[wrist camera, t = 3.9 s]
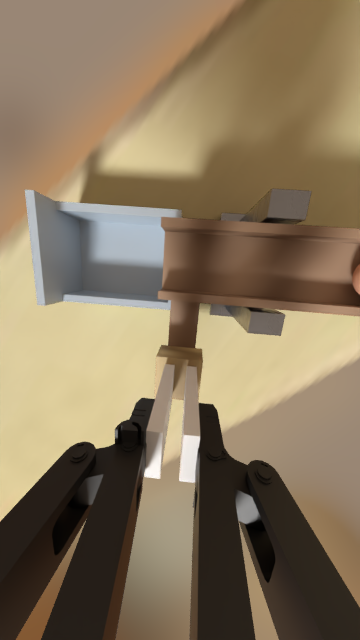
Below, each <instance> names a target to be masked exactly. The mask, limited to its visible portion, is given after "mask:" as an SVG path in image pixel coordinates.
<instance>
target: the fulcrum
mask: <svg viewBox="0 0 360 640" xmlns="http://www.w3.org/2000/svg"><path fill="white" fill-rule="evenodd" d="M310 196H311V191H301V190H285V189H271V190H270V191H269V192H268V193H267V194H266V195H265V196H264V197H263V198H262V199H261V200H260V201H259V202H258V203H257V204H256V205H255V206H254V207H253V208H252V209H251V210H250V211H249V212H248V213H247V214H233V213H221V219H220V220H224V221H240V222H257V223H273V224H290V225H294V224H296V223H299V222H301V221H303V220H305V219H306V215H307V210H308V205H309V201H310ZM210 315H219V316H231V317H234V318H235V319H236V321H237V322H238V323H239V324H240V325H241V326H242V327H243V328H244V329H245V330H246V331H247V333H254V334H266V335H278V336H281V332H282V327H283V323H284V318H285V314H283V313H281V312H279V311H277V310H275V309H268V308H256V307H244V306H233V305H221V304H211V306H210Z"/></svg>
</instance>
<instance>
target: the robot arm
mask: <svg viewBox="0 0 360 640" xmlns="http://www.w3.org/2000/svg"><path fill="white" fill-rule="evenodd" d="M174 369H175V365H170V364H165V366H164V370H163V373H162V377H161V380H160V384H159V387H158V391H157V394H156V398H155V399H148V398H141V399H140V400H139V401H138V402H137V403H136V405H135V407H134V410H133V412H132V415H131V417H130V420H126V421H123V422H121V423H120V424H119V425H118V426H117V427H116V429H115V444H113V445H111V446H109V447H105V448H99V449H96V448H95V446H94V445H93V444H91V443H90V442H81V443H77V444H75V445H73V446H71V447H70V448H69V449H68V450H66V451H65V453H64V454H63V455H62V456H61V457H60V458H59V459H58V460H57V461H56V462H55V463H54V464H53V465H52V467H51V468H50V469H49V470H48V471H47V472H46V473H45V474H44V475H43V476H42V477H41V478H40V479H39V481H38V482H37V483H36V484H35V485H34V486H33V487H32V488H31V489H30V490H29V491H28V492H27V493H26V495H25V496H24V497H23V498H22V499H21V500H20V501H19V502H18V503H17V504H16V505H15V506H14V508H13V509H12V510H11V511H10V512H9V513H8V514H7V515H6V516H5V517H4V518H3V519H2V520H1V522H0V640H16V638H17V636H18V634H19V633H20V631H21V629H22V628H23V626H24V624H25V623H26V621H27V619H28V618H29V616H30V614H31V612H32V611H33V609H34V607H35V605H36V604H37V602H38V600H39V599H40V597H41V595H42V594H43V592H44V590H45V589H46V587H47V585H48V583H49V582H50V580H51V578H52V577H53V575H54V573H55V571H56V570H57V568H58V566H59V565H60V563H61V561H62V560H63V558H64V556H65V555H66V553H67V551H68V549H69V548H70V546H71V544H72V543H73V541H74V539H75V537H76V536H77V534H78V532H79V531H80V529H81V527H82V526H83V524H84V522H85V521H86V523H85V525H84V528H83V530H82V533H81V535H80V538H79V541H78V543H77V546H76V549H75V551H74V554H73V557H72V559H71V562H70V565H69V567H68V570H67V572H66V575H65V578H64V580H63V583H62V586H61V588H60V591H59V593H58V596H57V599H56V601H55V604H54V607H53V609H52V612H51V615H50V618H49V620H48V622H47V625H46V628H45V631H44V633H43V636H42V638H41V640H115V639H116V634H117V628H118V622H119V616H120V610H121V605H122V599H123V594H124V589H125V583H126V577H127V572H128V566H129V560H130V555H131V549H132V544H133V537H134V532H135V527H136V521H137V516H138V509H139V504H140V499H141V493H142V482H143V477H144V472H145V477H150V478H160V475H161V468H162V462H163V455H164V448H165V442H166V435H167V429H168V422H169V416H170V409H171V402H172V396H173V382H174ZM179 481H185V482H193V483H195V494H194V502H193V507H194V521H193V522H194V523H193V551H192V581H191V582H192V583H191V611H190V640H255V633H254V626H253V620H252V612H251V605H250V598H249V592H248V584H247V577H246V571H245V564H244V557H243V550H242V543H241V537H240V530H239V523H240V525H241V529H242V532H243V534H244V537H245V540H246V543H247V546H248V549H249V552H250V555H251V558H252V561H253V564H254V567H255V570H256V573H257V576H258V579H259V582H260V585H261V587H262V591H263V593H264V596H265V599H266V602H267V605H268V608H269V611H270V614H271V617H272V620H273V623H274V626H275V629H276V632H277V635H278V638H279V640H360V608H359V606H358V604H357V603H356V601H355V599H354V598H353V596H352V594H351V593H350V591H349V589H348V588H347V586H346V585H345V583H344V581H343V580H342V578H341V576H340V575H339V573H338V572H337V570H336V568H335V566H334V565H333V563H332V562H331V560H330V558H329V557H328V555H327V553H326V552H325V550H324V548H323V547H322V545H321V543H320V542H319V540H318V538H317V537H316V535H315V534H314V532H313V530H312V529H311V527H310V525H309V524H308V522H307V520H306V519H305V517H304V515H303V514H302V513H301V510H300V509H299V507H298V505H297V504H296V502H295V500H294V499H293V497H292V495H291V494H290V492H289V491H288V489H287V487H286V486H285V484H284V482H283V481H282V479H281V478H280V476H279V474H278V473H277V472H276V470H275V469H274V468H273V467H272V466H271V465H269V464H268V463H266V462H263V461H259V460H254V461H251V462H250V463H249V464H248V465H246V464H244V463H241V462H239V461H237V460H235V459H233V458H232V457H231V456H230V455H229V454H228V453H227V451H226V449H225V448H224V445H223V440H222V434H221V428H220V424H219V419H218V412H217V410H216V408H215V407H214V405H213V404H203V403H199V402H198V383H197V367H191V366H187V370H186V381H185V392H184V407H183V424H182V441H181V458H180V476H179ZM86 519H87V520H86ZM238 520H239V523H238Z"/></svg>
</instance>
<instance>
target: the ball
mask: <svg viewBox="0 0 360 640" xmlns="http://www.w3.org/2000/svg"><path fill="white" fill-rule="evenodd" d="M352 283H353V287H354V289H355V290H356V292H357V293H358V294H359V295H360V264H359V265H358V266H357V268H356V269H355V271H354V273H353V277H352Z"/></svg>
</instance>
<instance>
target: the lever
mask: <svg viewBox="0 0 360 640" xmlns="http://www.w3.org/2000/svg"><path fill="white" fill-rule="evenodd" d="M161 227H162V228H163V230H164V231H165V239H164V259H163V279H162V289H161V290H159V291H158V299H163V300H171V309H170V325H169V341H168V346H166V345H161V347H160V350H159V352H158V354H157V356H156V374H155V395H154V397H156V394H157V391H158V387H159V384H160V380H161V377H162V373H163V370H164V366H165V364H170V365H175V369H174V382H173V396H172V399H179V400H184V392H185V381H186V370H187V366H191V367H197V383H198V399H199V390H200V381H201V372H202V363H203V358H202V349H196V348H195V344H196V334H197V324H198V314H199V304H200V303H209V304H221V305H233V306H244V307H256V308H268V309H279V310H291V311H303V312H314V313H326V314H338V315H349V316H360V295H359V294H358V293H357V292H356V290H355V289H354V287H353V283H352V277H353V273H354V271H355V269H356V268H357V266H358V265H359V264H360V229H356V228H339V227H323V226H306V225H290V224H273V223H257V222H240V221H224V220H207V219H191V218H174V217H161Z"/></svg>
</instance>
